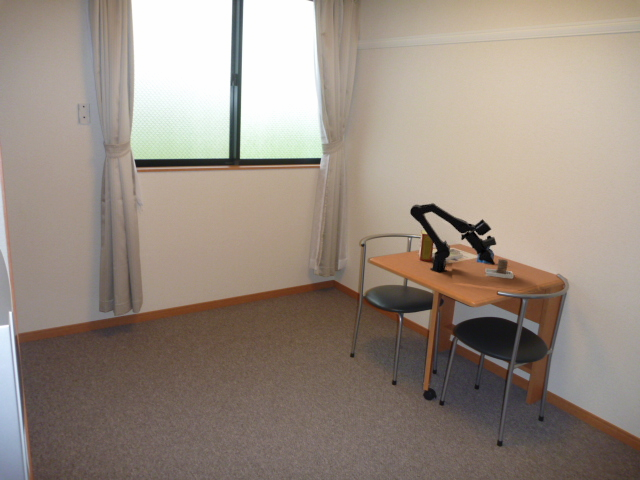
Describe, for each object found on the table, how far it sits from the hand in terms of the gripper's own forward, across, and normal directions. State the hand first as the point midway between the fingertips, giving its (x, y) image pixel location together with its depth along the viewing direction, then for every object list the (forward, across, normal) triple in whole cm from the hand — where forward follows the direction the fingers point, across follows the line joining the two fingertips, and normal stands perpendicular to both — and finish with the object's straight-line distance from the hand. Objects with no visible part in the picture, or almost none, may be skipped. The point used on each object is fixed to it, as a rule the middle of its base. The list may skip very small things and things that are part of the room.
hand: (494, 264), depth 248 cm
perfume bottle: (+3, +24, +7) cm, 25 cm away
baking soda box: (-20, +20, +30) cm, 41 cm away
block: (+7, 0, +1) cm, 7 cm away
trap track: (+7, 0, +2) cm, 7 cm away
